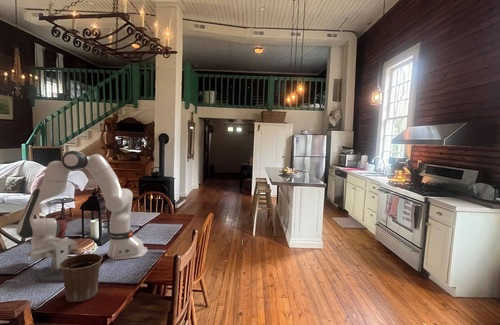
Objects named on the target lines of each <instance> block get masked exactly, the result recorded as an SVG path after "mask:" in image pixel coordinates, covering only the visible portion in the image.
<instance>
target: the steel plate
mask: <svg viewBox="0 0 500 325" xmlns="http://www.w3.org/2000/svg"><path fill="white" fill-rule="evenodd" d="M36 282H37V283H48V282H54V283H55V282H58V283H59V282H61V283H62V282H64V279H63V275H62V271H61V268H60V269H55V268H54V267H53V266H52V265H51V266H50V267H48V268H46V269H45V270H44V271H43V272H41V273H40V274H39V275H37V276H36Z"/></svg>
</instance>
